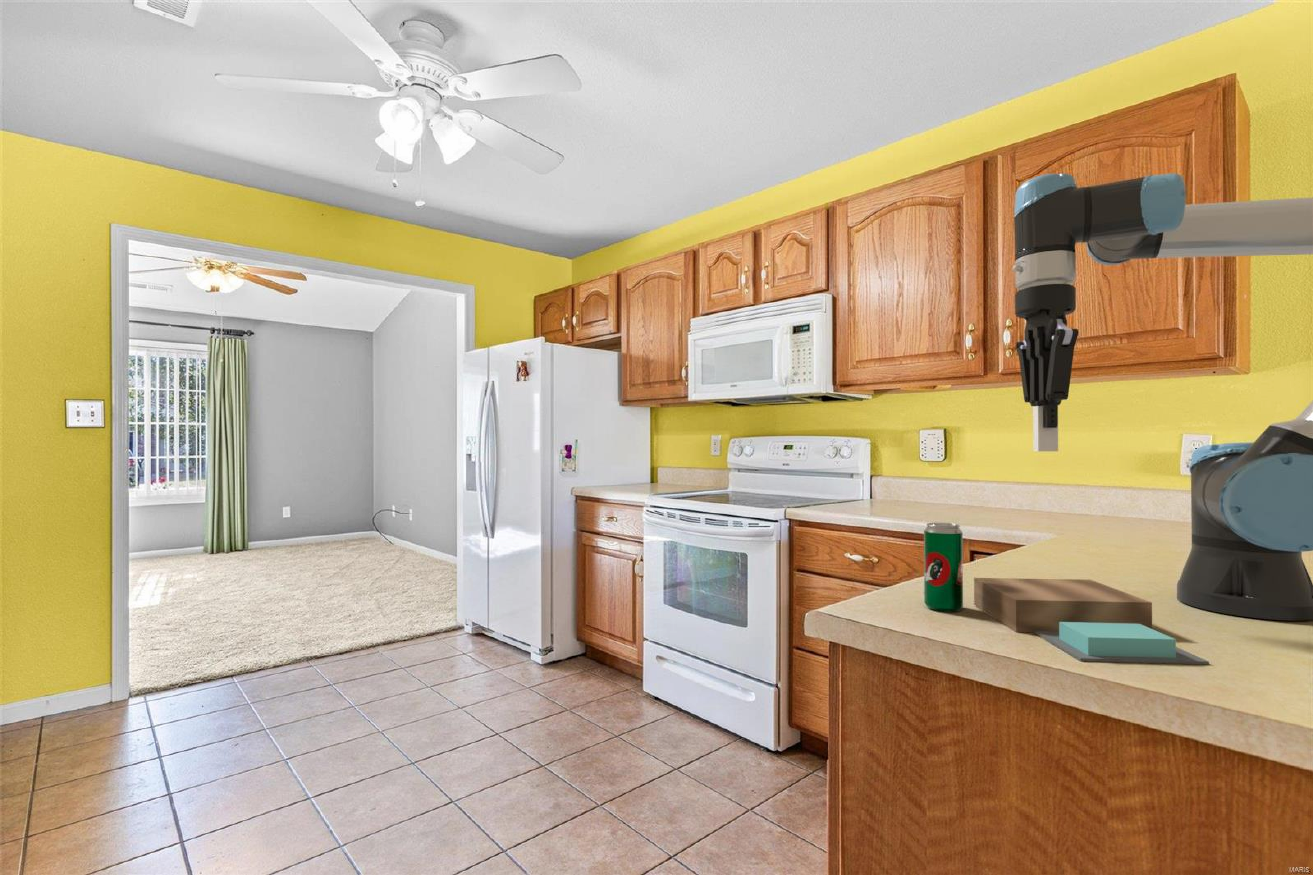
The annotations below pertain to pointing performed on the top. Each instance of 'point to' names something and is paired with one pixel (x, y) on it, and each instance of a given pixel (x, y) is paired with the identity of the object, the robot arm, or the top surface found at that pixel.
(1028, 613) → the brown wooden flat block
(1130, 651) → the teal rectangular block
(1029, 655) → the top surface
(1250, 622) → the top surface
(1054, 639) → the mat
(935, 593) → the soda can
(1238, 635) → the top surface
